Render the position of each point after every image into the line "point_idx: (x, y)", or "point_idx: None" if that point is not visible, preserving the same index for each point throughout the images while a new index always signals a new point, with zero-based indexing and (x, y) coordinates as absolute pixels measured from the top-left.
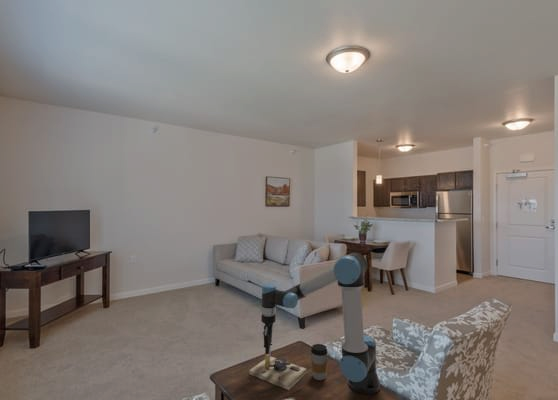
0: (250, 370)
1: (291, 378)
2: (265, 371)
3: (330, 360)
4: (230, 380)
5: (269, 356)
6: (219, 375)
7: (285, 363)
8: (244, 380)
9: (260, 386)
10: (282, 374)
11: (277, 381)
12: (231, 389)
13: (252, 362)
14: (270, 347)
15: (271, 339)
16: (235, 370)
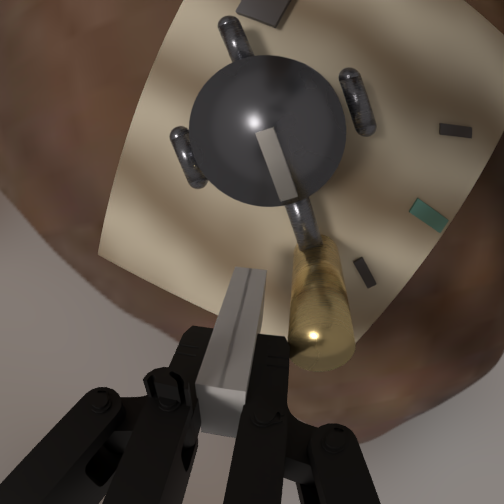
0: None
1: (445, 22)
2: (359, 262)
3: None
4: (386, 404)
5: (335, 311)
6: None
7: (294, 62)
8: (398, 356)
9: (473, 262)
10: (397, 98)
11: (492, 150)
12: (457, 383)
13: None
14: (210, 367)
15: (76, 423)
16: (293, 404)
